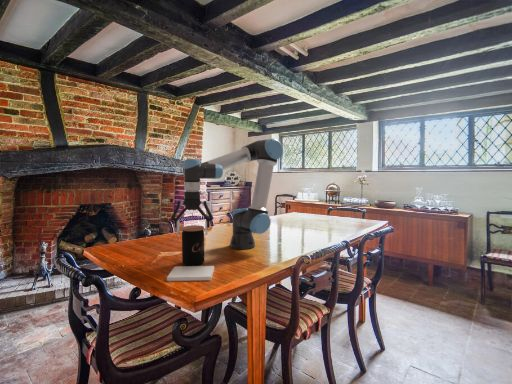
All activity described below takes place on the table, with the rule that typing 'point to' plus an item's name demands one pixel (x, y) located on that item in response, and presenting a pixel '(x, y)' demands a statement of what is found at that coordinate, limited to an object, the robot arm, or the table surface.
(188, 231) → the coffee jar
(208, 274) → the plate
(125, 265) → the table surface
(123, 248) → the table surface
